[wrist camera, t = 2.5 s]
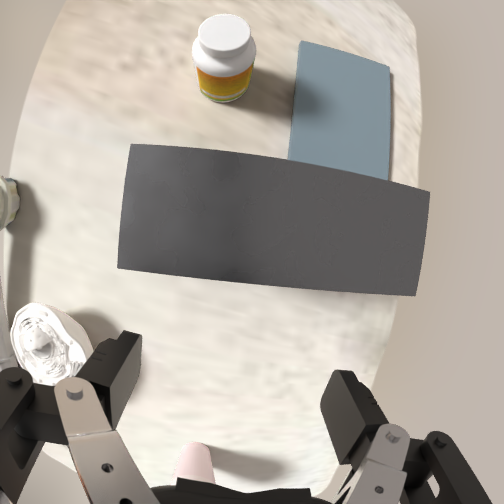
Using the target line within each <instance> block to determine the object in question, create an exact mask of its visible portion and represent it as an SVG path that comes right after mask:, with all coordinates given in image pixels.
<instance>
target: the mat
mask: <svg viewBox="0 0 504 504" xmlns="http://www.w3.org/2000/svg"><path fill="white" fill-rule="evenodd" d="M390 118H391V102H390V68H389V67H388V66H386V65H383V64H380V63H378V62H375V61H372V60H369V59H366V58H363V57H360V56H357V55H354V54H351V53H347V52H344V51H341V50H337V49H334V48H330V47H326V46H322V45H318V44H314V43H310V42H306V41H301V42H300V44H299V51H298V62H297V73H296V83H295V94H294V104H293V114H292V123H291V133H290V142H289V151H288V160H292V161H298V162H303V163H309V164H314V165H320V166H325V167H330V168H335V169H340V170H344V171H349V172H354V173H358V174H363V175H367V176H371V177H375V178H380V179H384V180H388V170H389V153H390Z"/></svg>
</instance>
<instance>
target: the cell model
mask: <svg viewBox="0 0 504 504" xmlns="http://www.w3.org/2000/svg"><path fill="white" fill-rule="evenodd" d="M10 335H11V342H12V345H13V348H14V351H15V353H16V356H17V359H18V362H19V364H20V365H21V367H22V368H23V369H25V370H27V371H28V372H29V373H30V374H31V376H32V378H33V382H34V383H38V384H44V385H50V386H55V385H56V384H57V382H59V381H60V380H62V379H64V378H68V377H75V376H76V374H77V373H78V372H79V370H80V369H81V368H82V366H83V365H84V364H85V362H86V361H87V360H88V358H89V357H90V356H91V354H92V353H93V352H94V350H93V348H92V345H91V343H90V340H89V338H88V335H87V333H86V331H85V330H84V328H83V327H82V326H81V325H80V324H79V323H78V322H76V321H75V320H74V319H73V318H71V317H70V316H69V315H67V314H66V313H64V312H63V311H61V310H59V309H57V308H55V307H52V306H48V305H44V304H40V303H37V302H33V303H30V304H27V305H26V306H24V307H23V308H21V309H20V310H19V311H18V312H17V313H16V315H15V318H14V322H13V325H12V328H11V333H10Z"/></svg>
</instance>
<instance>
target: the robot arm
mask: <svg viewBox="0 0 504 504" xmlns="http://www.w3.org/2000/svg"><path fill="white" fill-rule="evenodd" d="M141 350H142V335H140V334H136V333H133V332H129V331H125V330H124V331H123V332H122V333H121V335H120V336H119V338H118V339H117V340H114V339H110V338H109V339H107V340H105V341H103V342H101V343H100V344H99V345H98V347H97V348H96V349H95V352H93V353H92V354H91V356H90V357H89V358H88V360H87V361H86V362H85V364H84V365H83V366H82V368H81V369H80V370H79V372H78V373H77V374H76V376H75V377H68V378H64V379H62V380H60V381H59V382H57V384H56V385H55V386H50V385H44V384H38V383H33V378H32V376H31V374H30V373H29V372H28V371H27V370H25V369H23V368H19V367H9V368H6V369H3V370H2V371H1V372H0V504H17V501H18V499H19V496H20V494H21V492H22V489H23V487H24V485H25V483H26V481H27V478H28V476H29V474H30V472H31V470H32V468H33V466H34V464H35V462H36V459H37V457H38V455H39V453H40V451H41V449H42V447H43V445H44V443H45V442H50V443H56V444H63V445H68V448H69V451H70V454H71V457H72V460H73V462H74V465H75V468H76V470H77V473H78V476H79V478H80V481H81V483H82V485H83V488H84V490H85V493H86V495H87V497H88V500H89V502H90V504H398V502H399V501H400V503H401V504H492V502H491V501H490V499H489V497H488V496H487V494H486V492H485V491H484V489H483V487H482V486H481V484H480V482H479V481H478V479H477V477H476V476H475V474H474V472H473V471H472V470H471V468H470V466H469V465H468V463H467V461H466V460H465V458H464V457H463V455H462V454H461V452H460V451H459V449H458V447H457V446H456V444H455V443H454V441H453V440H452V439H451V437H449V436H448V435H447V434H445V433H443V432H440V431H433V432H430V433H429V434H428V435H427V437H426V438H425V439H424V440H419V439H412V438H410V436H409V434H408V433H407V432H406V430H404V429H403V428H402V427H400V426H398V425H394V424H389V422H388V420H387V419H386V417H385V415H384V414H383V412H382V410H381V409H380V407H379V405H377V401H376V400H375V399H374V396H373V395H372V393H371V391H370V390H369V389H368V388H367V387H366V386H365V385H364V384H363V383H361V382H359V381H358V379H357V377H356V376H355V374H354V372H353V371H347V370H335V371H334V372H333V373H332V375H331V378H330V380H329V382H328V384H327V387H326V389H325V391H324V393H323V396H322V398H321V403H320V408H321V412H322V415H323V418H324V421H325V424H326V426H327V429H328V432H329V435H330V438H331V441H332V444H333V447H334V449H335V452H336V455H337V458H338V461H339V464H340V465H344V464H351V466H352V468H351V469H350V471H349V472H348V474H347V475H346V477H345V479H344V481H343V482H342V484H341V486H340V488H339V489H338V491H337V493H336V494H335V496H334V498H333V499H332V501H331V502H328V501H325V500H322V499H319V498H315V497H311V492H310V488H302V489H283V488H279V489H273V490H267V491H261V492H254V493H242V492H239V491H235V490H232V489H229V488H225V487H222V486H219V485H216V484H213V483H209V482H202V481H196V480H190V479H185V478H180V477H177V481H176V485H166V486H158V487H152V488H149V486H148V484H147V483H146V481H145V480H144V478H143V476H142V475H141V473H140V471H139V470H138V468H137V466H136V464H135V463H134V461H133V459H132V457H131V456H130V454H129V452H128V450H127V448H126V446H125V444H124V443H123V441H122V439H121V437H120V435H119V433H118V432H117V430H115V429H116V427H117V424H118V422H119V420H120V417H121V415H122V413H123V411H124V408H125V406H126V404H127V402H128V399H129V397H130V395H131V393H132V391H133V388H134V386H135V384H136V382H137V379H138V377H139V373H140V366H141ZM432 475H434V477H435V479H436V481H437V483H438V484H439V488H440V491H439V494H438V496H437V497H436V498H435V496H434V494H433V492H432V490H431V488H430V486H429V484H428V482H427V480H428V479H429V478H430V477H431V476H432Z"/></svg>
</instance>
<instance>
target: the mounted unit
mask: <svg viewBox="0 0 504 504" xmlns="http://www.w3.org/2000/svg"><path fill="white" fill-rule="evenodd" d="M429 199H430V192H428V191H425V190H421V189H418V188H414V187H411V186H407V185H403V184H399V183H396V182H392V181H388V180H384V179H380V178H375V177H371V176H367V175H363V174H358V173H354V172H349V171H344V170H340V169H335V168H330V167H325V166H320V165H314V164H309V163H303V162H298V161H292V160H286V159H280V158H273V157H267V156H260V155H252V154H245V153H237V152H229V151H220V150H211V149H201V148H190V147H178V146H164V145H147V144H131V146H130V152H129V158H128V164H127V171H126V178H125V185H124V193H123V202H122V211H121V221H120V233H119V246H118V264H117V268H119V269H127V270H134V271H142V272H150V273H158V274H166V275H175V276H183V277H192V278H201V279H210V280H219V281H229V282H238V283H248V284H259V285H269V286H280V287H291V288H303V289H315V290H327V291H341V292H354V293H369V294H385V295H402V296H415V295H416V291H417V286H418V281H419V275H420V270H421V264H422V258H423V251H424V244H425V237H426V229H427V220H428V210H429Z"/></svg>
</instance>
